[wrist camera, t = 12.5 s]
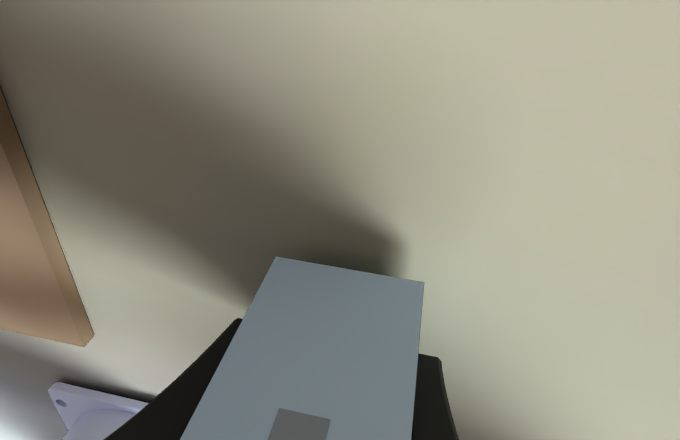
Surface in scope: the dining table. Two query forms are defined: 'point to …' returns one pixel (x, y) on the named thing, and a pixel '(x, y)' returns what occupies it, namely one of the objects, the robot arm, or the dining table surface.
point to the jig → (32, 254)
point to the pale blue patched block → (318, 359)
